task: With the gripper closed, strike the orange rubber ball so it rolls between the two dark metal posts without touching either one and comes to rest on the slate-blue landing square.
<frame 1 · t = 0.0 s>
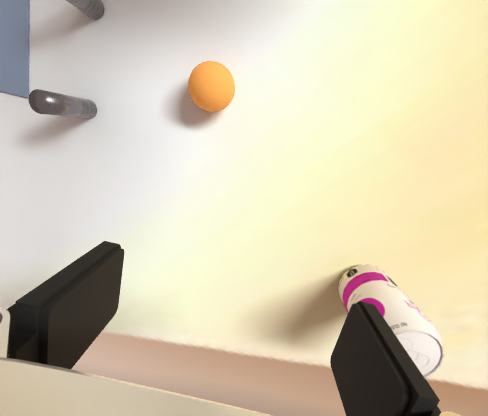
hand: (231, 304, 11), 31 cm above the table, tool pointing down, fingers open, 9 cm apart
supplement can: (361, 284, 44), on the table
ball: (211, 87, 35), on the table
post 1: (94, 8, 36), on the table
post 2: (88, 109, 39), on the table
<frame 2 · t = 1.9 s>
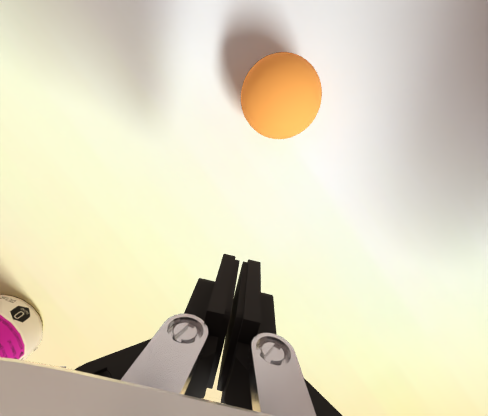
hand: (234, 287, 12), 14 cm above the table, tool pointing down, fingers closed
supplement can: (15, 320, 31), on the table
ball: (280, 98, 20), on the table
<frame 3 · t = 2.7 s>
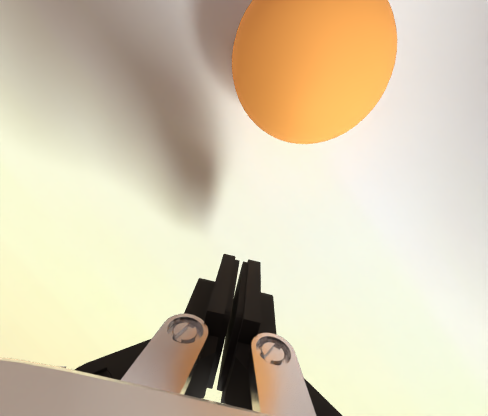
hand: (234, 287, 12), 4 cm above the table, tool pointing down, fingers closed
ball: (308, 65, 10), on the table
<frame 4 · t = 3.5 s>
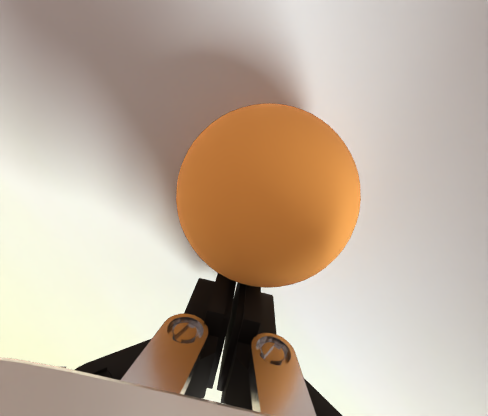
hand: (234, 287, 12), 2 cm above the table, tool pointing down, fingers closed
ball: (265, 196, 9), on the table
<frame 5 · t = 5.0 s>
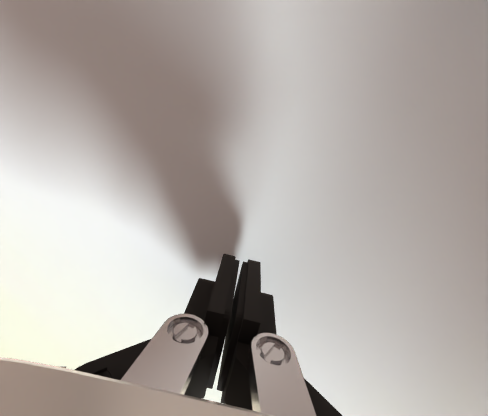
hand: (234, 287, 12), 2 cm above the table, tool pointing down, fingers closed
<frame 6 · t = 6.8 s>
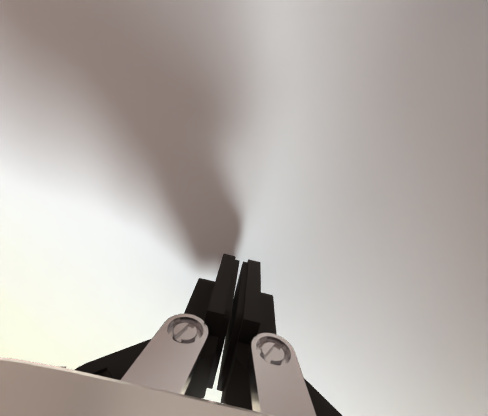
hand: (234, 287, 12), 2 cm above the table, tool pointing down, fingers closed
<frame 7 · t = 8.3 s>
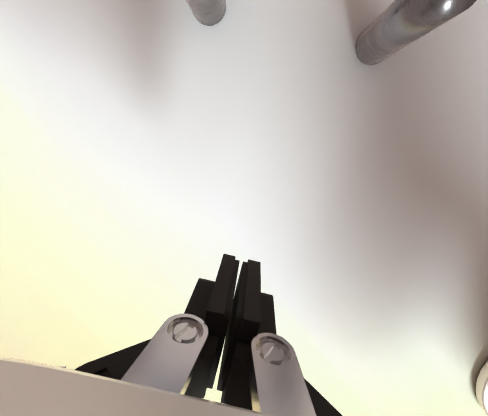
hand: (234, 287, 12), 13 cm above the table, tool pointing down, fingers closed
post 1: (372, 46, 21), on the table
post 2: (209, 6, 21), on the table
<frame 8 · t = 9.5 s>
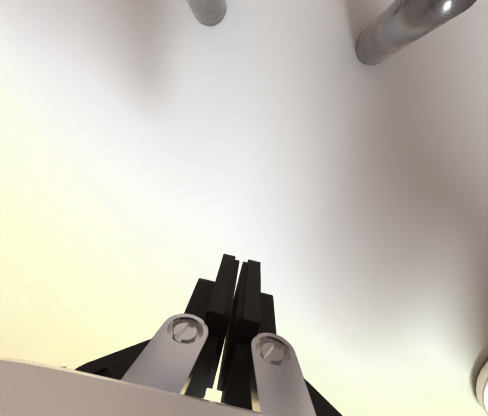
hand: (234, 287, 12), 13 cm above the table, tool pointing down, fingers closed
post 1: (372, 46, 21), on the table
post 2: (209, 6, 21), on the table
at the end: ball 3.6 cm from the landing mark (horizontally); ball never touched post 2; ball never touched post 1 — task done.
